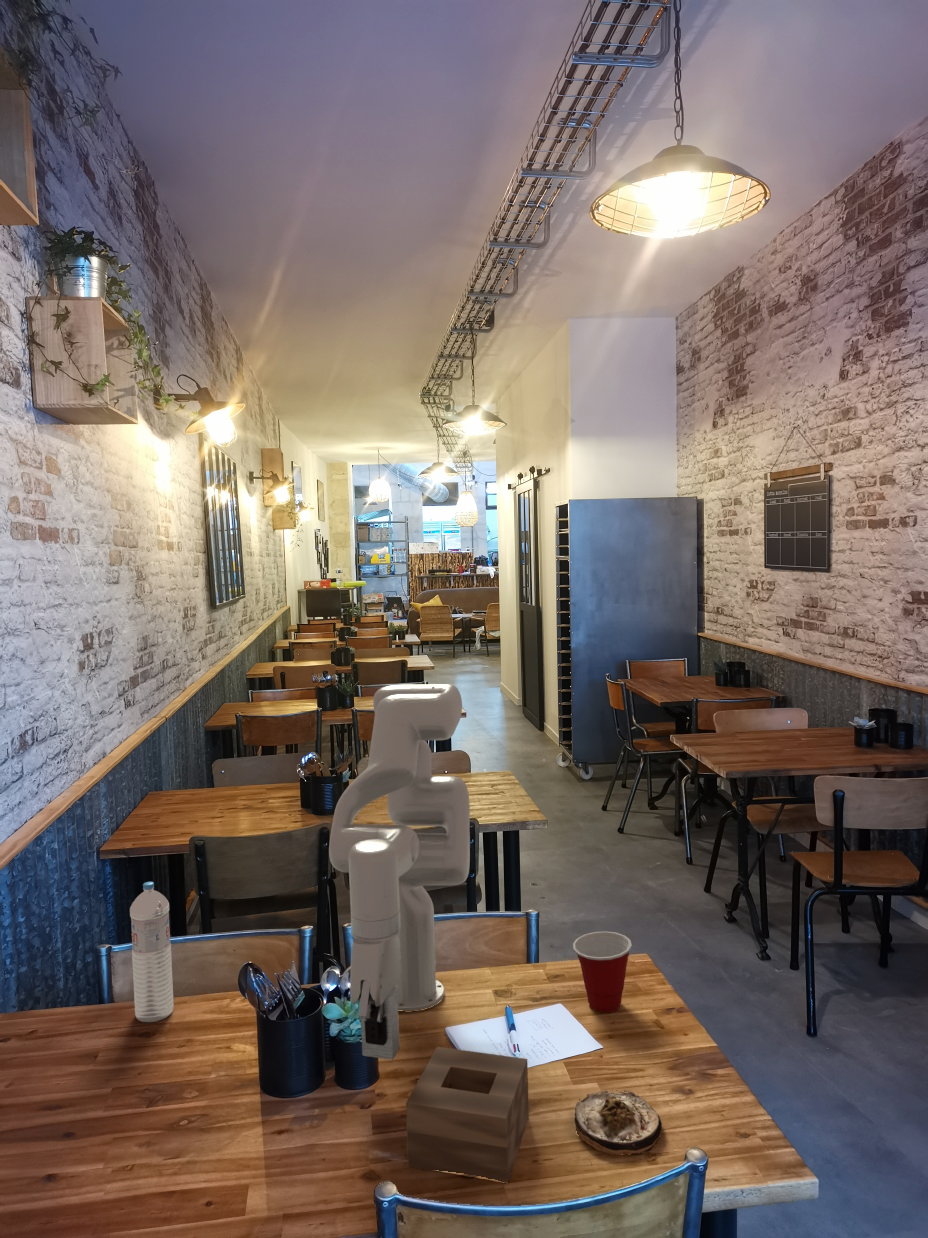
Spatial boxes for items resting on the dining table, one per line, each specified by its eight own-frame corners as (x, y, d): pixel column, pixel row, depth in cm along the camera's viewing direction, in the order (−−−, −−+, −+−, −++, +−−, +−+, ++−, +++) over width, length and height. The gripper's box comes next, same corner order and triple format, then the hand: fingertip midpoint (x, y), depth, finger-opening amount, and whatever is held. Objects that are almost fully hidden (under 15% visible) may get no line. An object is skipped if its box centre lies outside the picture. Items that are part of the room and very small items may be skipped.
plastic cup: (567, 993, 161) (566, 932, 161) (622, 988, 162) (621, 928, 162) (581, 1023, 150) (580, 957, 150) (640, 1018, 152) (639, 953, 151)
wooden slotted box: (438, 1104, 129) (437, 1047, 128) (528, 1118, 125) (527, 1059, 124) (408, 1166, 115) (406, 1103, 115) (507, 1184, 111) (506, 1118, 111)
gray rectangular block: (369, 1044, 133) (367, 983, 132) (399, 1048, 131) (397, 987, 130) (362, 1055, 130) (359, 993, 129) (392, 1060, 128) (390, 997, 128)
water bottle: (166, 1023, 154) (159, 890, 153) (129, 1024, 154) (122, 890, 153) (179, 1004, 161) (173, 876, 160) (143, 1005, 161) (137, 877, 160)
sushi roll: (684, 1163, 115) (684, 1134, 115) (576, 1170, 114) (575, 1140, 114) (655, 1096, 130) (654, 1070, 130) (558, 1101, 129) (558, 1075, 129)
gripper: (373, 898, 138) (377, 1005, 139) (330, 944, 122) (336, 1065, 124) (416, 902, 136) (420, 1011, 137) (379, 950, 120) (384, 1072, 122)
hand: (380, 1035), depth 130 cm, fingers closed on gray rectangular block, 3 cm apart
